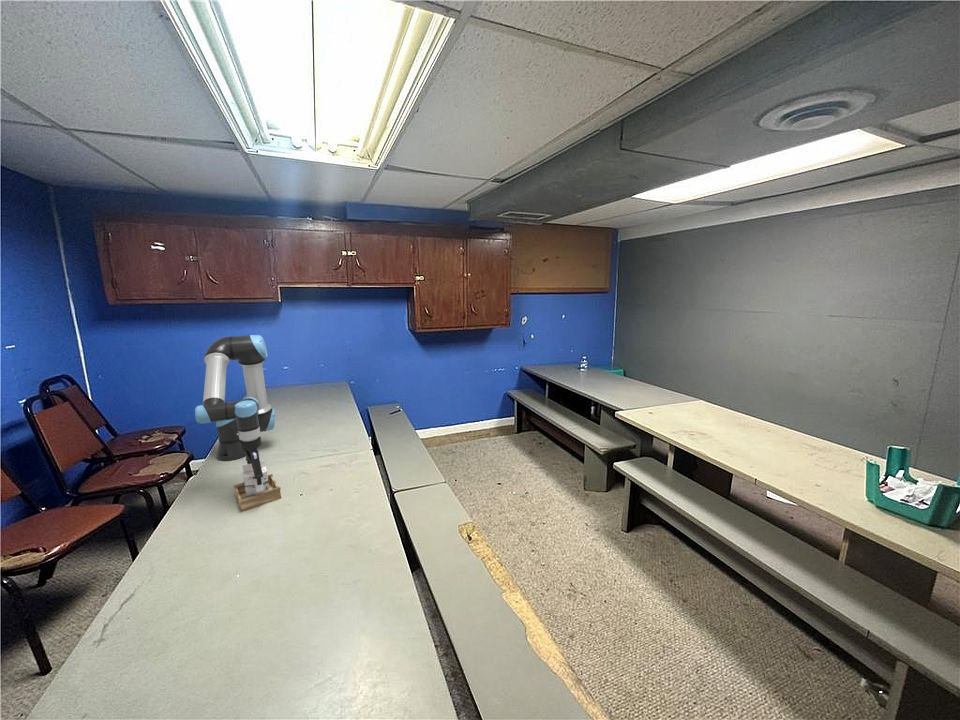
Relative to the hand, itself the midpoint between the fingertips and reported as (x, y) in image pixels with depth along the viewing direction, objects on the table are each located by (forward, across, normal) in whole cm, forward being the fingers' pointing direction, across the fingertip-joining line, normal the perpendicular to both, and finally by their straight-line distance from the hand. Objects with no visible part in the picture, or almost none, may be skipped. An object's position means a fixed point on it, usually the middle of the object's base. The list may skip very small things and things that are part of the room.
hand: (256, 484), depth 156 cm
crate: (+6, 0, 0) cm, 6 cm away
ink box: (+6, 0, 0) cm, 6 cm away
